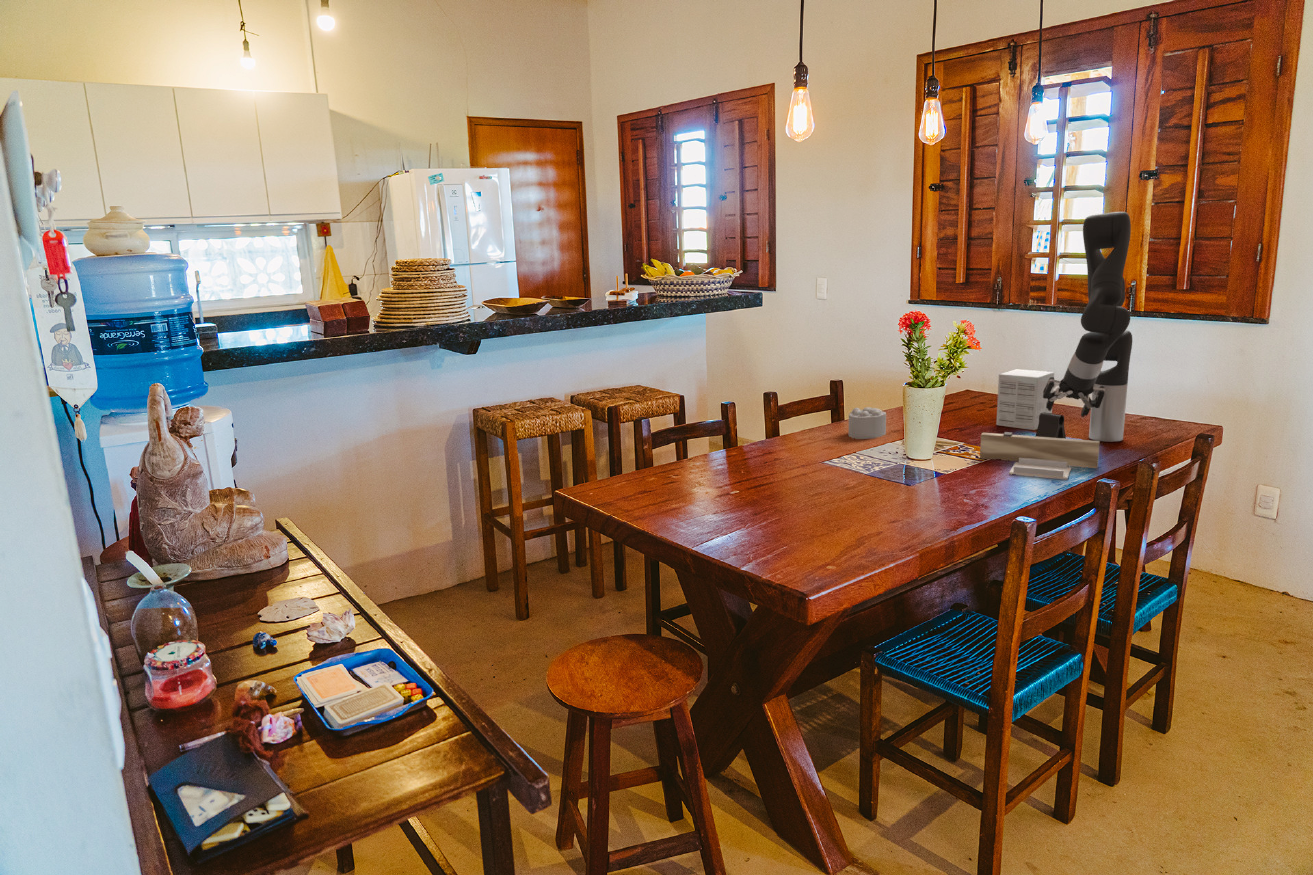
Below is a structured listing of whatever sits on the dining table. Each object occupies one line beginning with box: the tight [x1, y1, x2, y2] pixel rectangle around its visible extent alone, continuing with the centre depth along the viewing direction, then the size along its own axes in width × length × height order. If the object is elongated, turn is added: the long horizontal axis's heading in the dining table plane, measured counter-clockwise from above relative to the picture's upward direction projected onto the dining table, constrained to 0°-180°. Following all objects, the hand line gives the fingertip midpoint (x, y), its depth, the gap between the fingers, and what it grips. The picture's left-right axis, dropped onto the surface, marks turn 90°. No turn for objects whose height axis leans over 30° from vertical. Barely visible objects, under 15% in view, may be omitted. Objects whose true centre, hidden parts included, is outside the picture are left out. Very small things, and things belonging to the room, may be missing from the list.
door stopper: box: [1035, 412, 1067, 439], centre depth 237 cm, size 9×6×12 cm, turn 122°
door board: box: [979, 431, 1101, 469], centre depth 230 cm, size 3×30×8 cm, turn 59°
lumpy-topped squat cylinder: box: [848, 406, 887, 440], centre depth 271 cm, size 10×13×9 cm
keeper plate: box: [1008, 458, 1072, 481], centre depth 222 cm, size 11×14×2 cm
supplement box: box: [995, 368, 1055, 431], centre depth 274 cm, size 13×13×18 cm
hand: (1065, 411), depth 227 cm, fingers open, 8 cm apart
